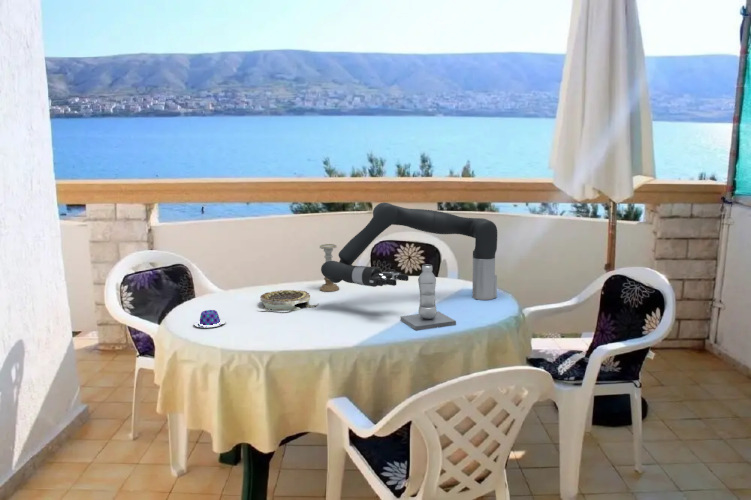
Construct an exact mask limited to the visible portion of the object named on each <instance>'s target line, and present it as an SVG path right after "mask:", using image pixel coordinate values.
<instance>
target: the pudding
mask: <svg viewBox="0 0 751 500" xmlns="http://www.w3.org/2000/svg"><path fill="white" fill-rule="evenodd" d="M220 319H221V318H220V316H219V313H218V311H217V310H216V309H207V310H204V311H201V313H200V317H199V321H200V324H203V325H213V324H217V323H219V322H220Z"/></svg>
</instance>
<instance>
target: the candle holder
mask: <svg viewBox="0 0 751 500" xmlns="http://www.w3.org/2000/svg"><path fill="white" fill-rule="evenodd" d="M336 248H337V244H334V243H325V244H320V245H319V249H322V250H323V252H324V254H325V255H324V259H325V262H327V261H333V259H332V258H333V254H332V253H333V251H334V249H336ZM323 280H324V281H325V283H323V284H322V285H321V286H320V287H319V291H321V292H329V293H331V292H337V291H339V290H340V287H339V285H337V284H338V283H333V282H331V281H330V280H329V279H327V278H326V277H325V276H324V278H323Z"/></svg>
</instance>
